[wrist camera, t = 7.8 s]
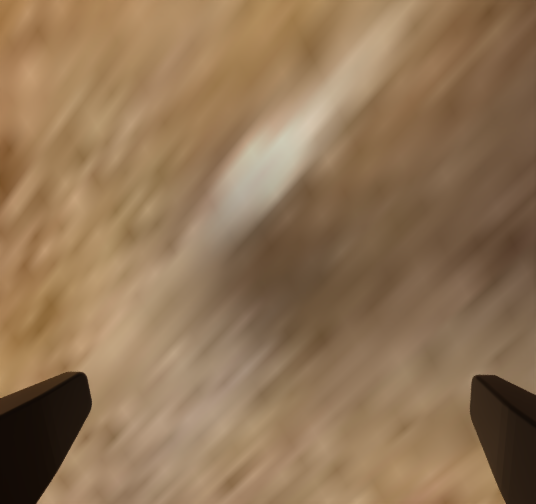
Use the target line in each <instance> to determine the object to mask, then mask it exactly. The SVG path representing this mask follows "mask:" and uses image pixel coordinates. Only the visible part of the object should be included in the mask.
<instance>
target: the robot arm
mask: <svg viewBox="0 0 536 504" xmlns="http://www.w3.org/2000/svg"><path fill="white" fill-rule="evenodd" d="M91 407H92V399H91V394H90V389H89V384H88V379H87V376H86V374H85V373H83V372H66V373H63V374H60V375H58V376H55V377H53V378H50V379H48V380H45V381H43V382H40V383H38V384H35V385H33V386H30V387H28V388H25V389H23V390H20V391H18V392H15V393H13V394H10V395H8V396H5V397H3V398H0V504H36V503H37V502H38V500H39V499H40V497H41V496H42V494H43V493H44V491H45V490H46V488H47V487H48V485H49V484H50V482H51V481H52V479H53V477H54V476H55V474H56V473H57V471H58V469H59V468H60V466H61V464H62V462H63V461H64V459H65V457H66V455H67V453H68V451H69V450H70V448H71V446H72V444H73V442H74V440H75V439H76V437H77V435H78V433H79V431H80V429H81V428H82V426H83V424H84V422H85V420H86V418H87V417H88V415H89V413H90V410H91ZM470 415H471V419H472V422H473V425H474V427H475V430H476V432H477V435H478V437H479V440H480V442H481V445H482V447H483V450H484V453H485V455H486V458H487V460H488V463H489V465H490V468H491V470H492V473H493V475H494V478H495V480H496V483H497V485H498V487H499V490H500V492H501V494H502V496H503V498H504V500H505V502H506V504H536V395H534V394H532V393H530V392H528V391H526V390H524V389H522V388H520V387H518V386H516V385H514V384H512V383H510V382H508V381H506V380H504V379H502V378H500V377H498V376H495V375H475V376H474V377H473V379H472V384H471V400H470Z"/></svg>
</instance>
